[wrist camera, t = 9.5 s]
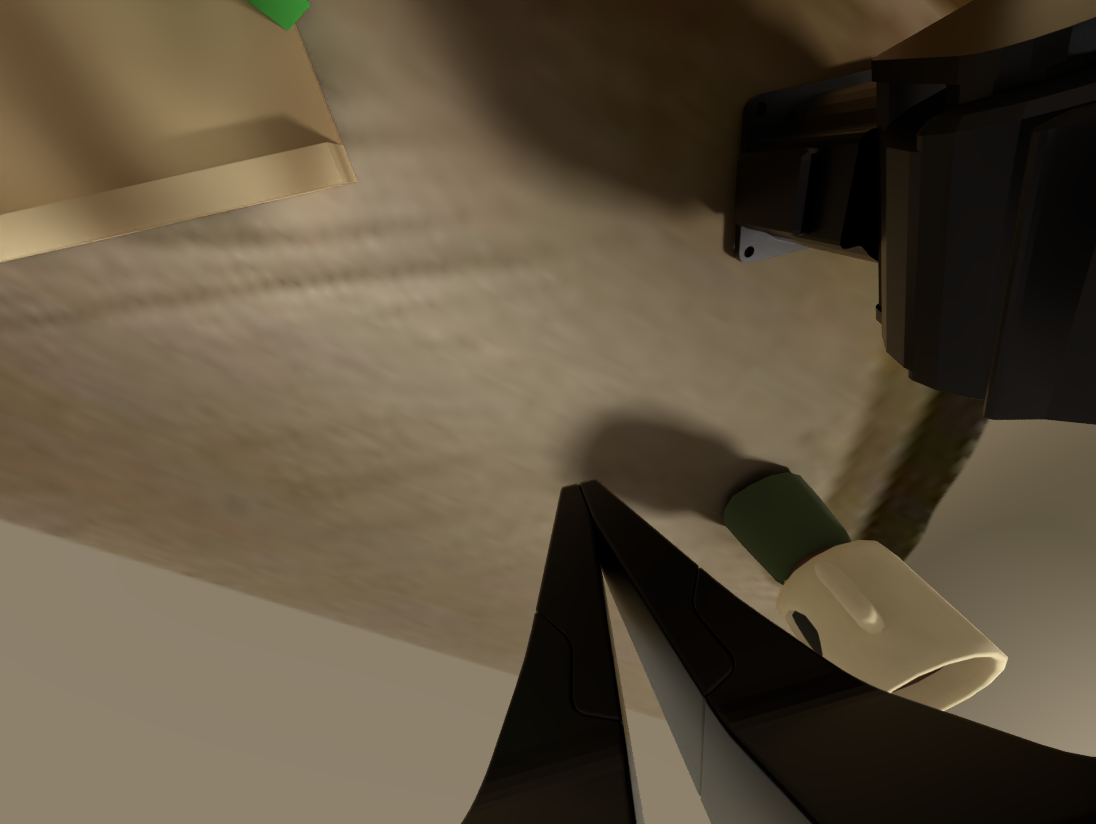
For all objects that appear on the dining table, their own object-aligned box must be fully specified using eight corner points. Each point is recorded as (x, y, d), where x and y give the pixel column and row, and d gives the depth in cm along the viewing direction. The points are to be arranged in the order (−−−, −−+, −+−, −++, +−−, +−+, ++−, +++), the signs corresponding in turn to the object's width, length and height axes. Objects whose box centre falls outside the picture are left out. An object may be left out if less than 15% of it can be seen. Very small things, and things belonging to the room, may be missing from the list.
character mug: (684, 489, 28) (825, 701, 17) (775, 426, 26) (998, 615, 15) (747, 556, 33) (885, 750, 22) (826, 507, 31) (1018, 690, 20)
